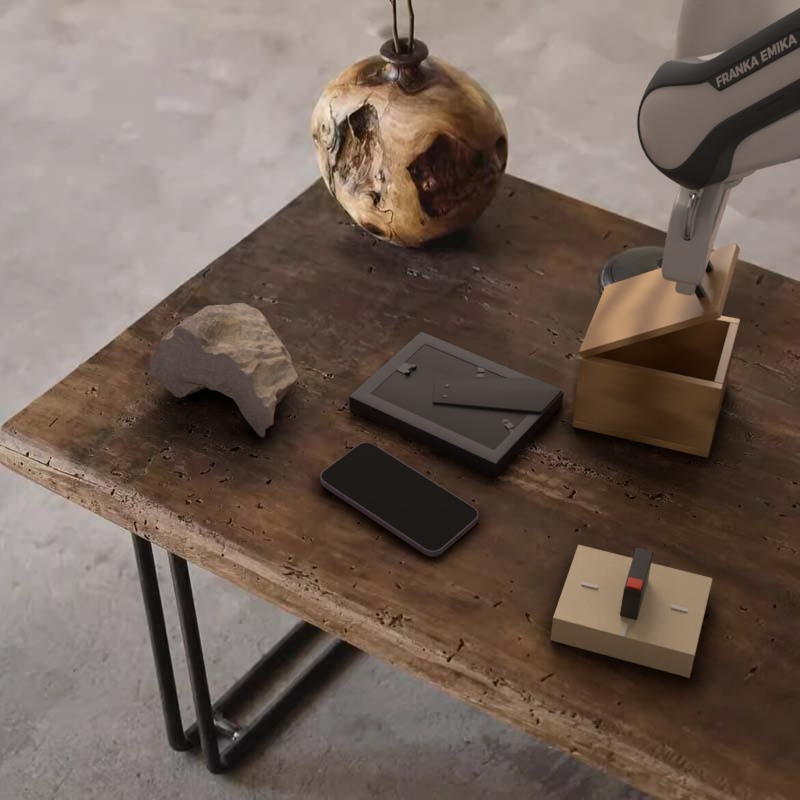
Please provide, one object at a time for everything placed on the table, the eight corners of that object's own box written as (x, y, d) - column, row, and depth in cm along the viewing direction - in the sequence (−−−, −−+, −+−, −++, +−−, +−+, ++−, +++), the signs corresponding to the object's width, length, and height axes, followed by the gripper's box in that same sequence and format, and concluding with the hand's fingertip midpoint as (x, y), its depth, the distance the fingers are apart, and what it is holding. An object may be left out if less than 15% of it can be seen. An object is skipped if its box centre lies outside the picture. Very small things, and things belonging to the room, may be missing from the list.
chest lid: (740, 249, 129) (720, 211, 127) (720, 317, 120) (699, 277, 118) (608, 291, 137) (588, 256, 135) (582, 358, 129) (560, 321, 127)
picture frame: (562, 405, 137) (421, 345, 145) (564, 388, 136) (421, 328, 143) (495, 478, 129) (348, 410, 136) (496, 461, 127) (348, 393, 135)
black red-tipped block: (631, 574, 115) (636, 544, 113) (648, 578, 115) (653, 549, 112) (619, 616, 112) (624, 586, 109) (636, 620, 111) (642, 591, 109)
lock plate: (707, 600, 117) (713, 576, 115) (689, 679, 110) (694, 655, 108) (575, 566, 120) (578, 542, 118) (549, 641, 113) (552, 617, 111)
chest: (726, 386, 139) (740, 319, 134) (707, 458, 131) (721, 389, 125) (598, 359, 143) (606, 292, 137) (572, 427, 134) (579, 359, 129)
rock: (149, 393, 139) (137, 314, 133) (234, 338, 148) (226, 261, 142) (260, 451, 131) (253, 369, 126) (343, 389, 140) (340, 310, 134)
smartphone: (433, 555, 120) (315, 476, 127) (433, 564, 121) (315, 484, 128) (483, 512, 124) (366, 438, 131) (482, 520, 125) (365, 446, 132)
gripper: (730, 205, 108) (707, 339, 117) (765, 95, 123) (741, 222, 132) (654, 192, 110) (636, 325, 118) (697, 85, 124) (678, 211, 133)
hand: (692, 270), depth 125 cm, fingers closed on chest lid, 5 cm apart
